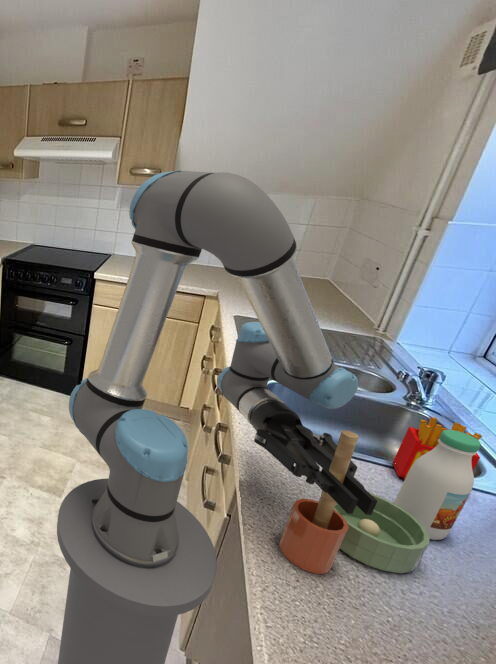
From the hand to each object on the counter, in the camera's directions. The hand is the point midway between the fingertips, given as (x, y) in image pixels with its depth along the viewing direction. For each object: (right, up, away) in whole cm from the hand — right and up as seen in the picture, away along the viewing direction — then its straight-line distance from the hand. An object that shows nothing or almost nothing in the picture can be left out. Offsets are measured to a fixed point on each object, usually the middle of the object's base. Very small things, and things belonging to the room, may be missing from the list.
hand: (362, 507), depth 61 cm
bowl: (+13, -12, +14) cm, 23 cm away
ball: (+14, -10, +14) cm, 22 cm away
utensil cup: (0, -13, +11) cm, 17 cm away
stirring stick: (0, -13, +10) cm, 16 cm away
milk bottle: (+27, -12, +18) cm, 34 cm away
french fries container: (+40, -8, +29) cm, 50 cm away
